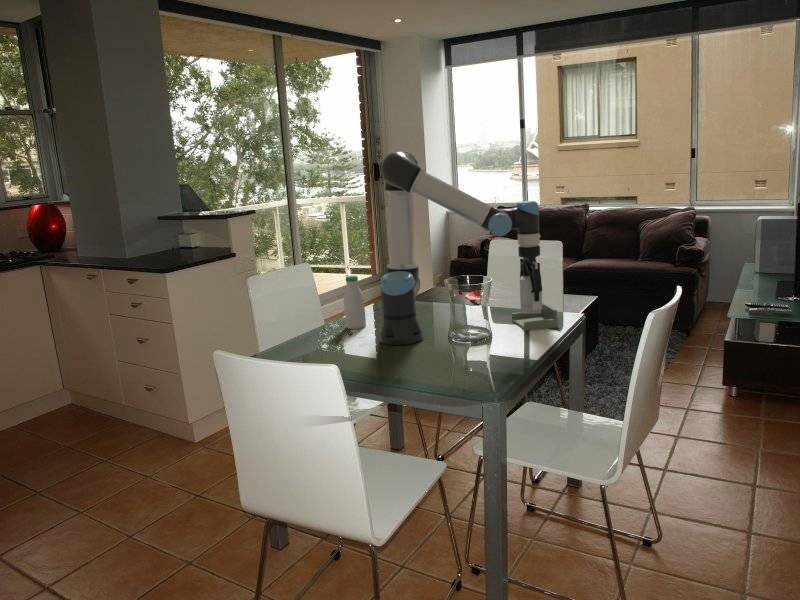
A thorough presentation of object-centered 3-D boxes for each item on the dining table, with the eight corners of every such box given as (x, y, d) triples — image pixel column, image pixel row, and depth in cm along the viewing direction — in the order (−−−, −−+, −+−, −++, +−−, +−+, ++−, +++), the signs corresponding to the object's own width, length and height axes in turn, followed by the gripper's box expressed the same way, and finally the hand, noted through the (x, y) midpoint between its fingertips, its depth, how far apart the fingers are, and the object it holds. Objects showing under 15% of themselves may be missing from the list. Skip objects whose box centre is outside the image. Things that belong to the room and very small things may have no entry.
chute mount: (525, 331, 228) (524, 314, 227) (511, 321, 243) (511, 305, 241) (558, 327, 230) (557, 310, 228) (542, 317, 244) (542, 302, 243)
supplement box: (541, 313, 230) (540, 278, 228) (520, 313, 233) (518, 279, 230) (542, 308, 237) (541, 274, 235) (522, 308, 239) (521, 275, 237)
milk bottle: (365, 328, 248) (360, 277, 244) (345, 330, 248) (340, 279, 244) (366, 323, 256) (362, 273, 251) (347, 325, 256) (342, 275, 252)
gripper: (550, 247, 220) (552, 312, 224) (528, 240, 241) (530, 299, 246) (529, 250, 219) (532, 314, 223) (509, 242, 240) (511, 301, 245)
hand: (531, 306), depth 235 cm, fingers closed on supplement box, 9 cm apart
